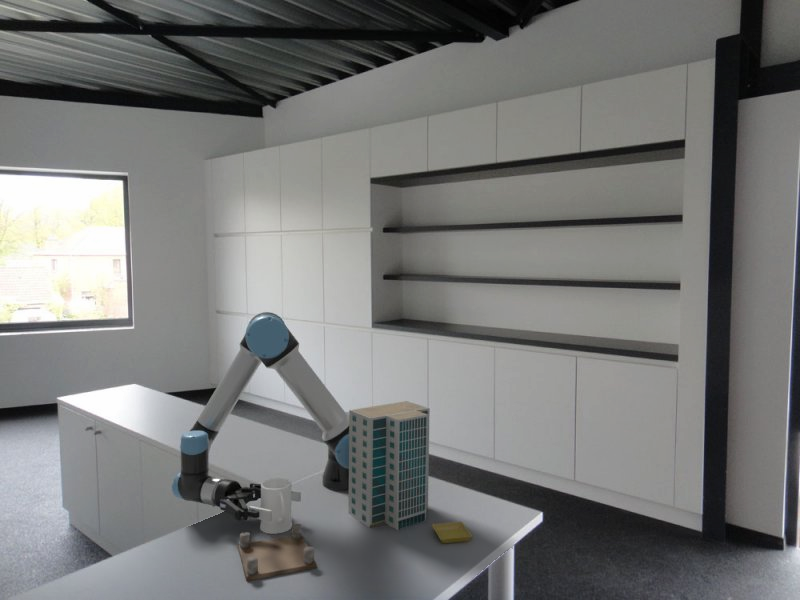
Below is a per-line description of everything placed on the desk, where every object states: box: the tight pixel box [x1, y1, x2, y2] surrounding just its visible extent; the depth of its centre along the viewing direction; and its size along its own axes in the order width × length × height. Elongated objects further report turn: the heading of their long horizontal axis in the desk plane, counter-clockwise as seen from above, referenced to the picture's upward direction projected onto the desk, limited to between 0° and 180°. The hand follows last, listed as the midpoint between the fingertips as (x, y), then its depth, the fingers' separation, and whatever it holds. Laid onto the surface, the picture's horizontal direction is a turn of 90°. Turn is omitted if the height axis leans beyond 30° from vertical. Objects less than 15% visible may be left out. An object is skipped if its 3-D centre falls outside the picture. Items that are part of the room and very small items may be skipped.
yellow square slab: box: [431, 521, 473, 544], centre depth 151 cm, size 9×9×2 cm
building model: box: [348, 400, 431, 531], centre depth 163 cm, size 20×16×30 cm
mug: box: [259, 477, 293, 535], centre depth 153 cm, size 12×8×12 cm
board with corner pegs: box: [237, 523, 318, 582], centre depth 138 cm, size 16×16×4 cm
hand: (286, 505), depth 152 cm, fingers open, 13 cm apart
